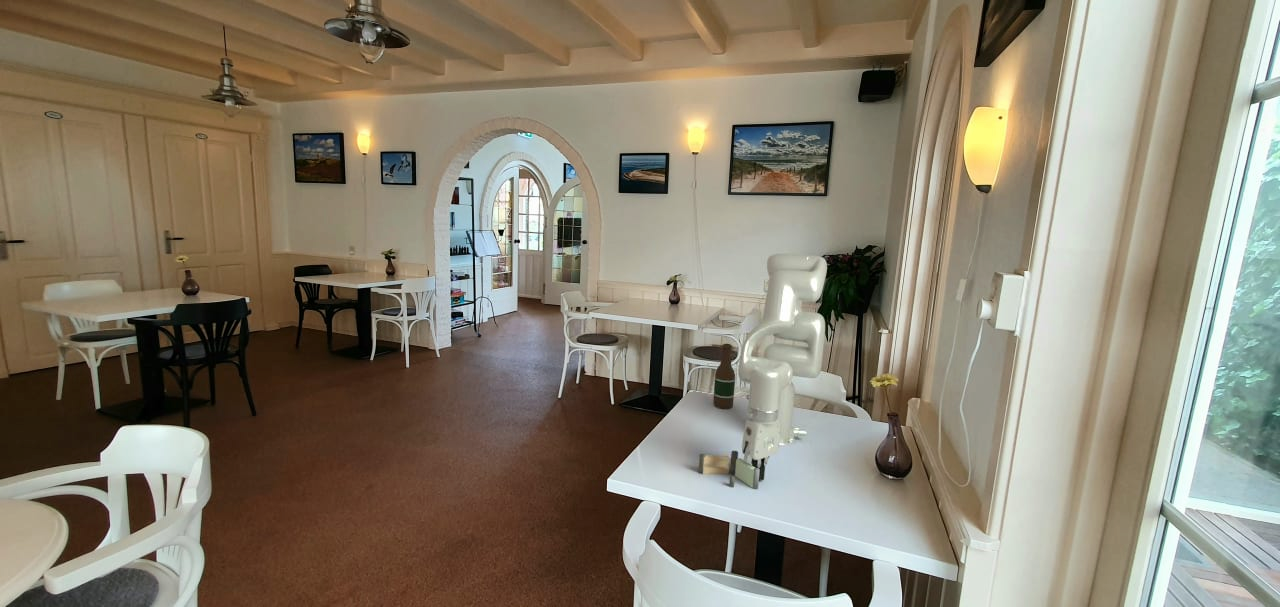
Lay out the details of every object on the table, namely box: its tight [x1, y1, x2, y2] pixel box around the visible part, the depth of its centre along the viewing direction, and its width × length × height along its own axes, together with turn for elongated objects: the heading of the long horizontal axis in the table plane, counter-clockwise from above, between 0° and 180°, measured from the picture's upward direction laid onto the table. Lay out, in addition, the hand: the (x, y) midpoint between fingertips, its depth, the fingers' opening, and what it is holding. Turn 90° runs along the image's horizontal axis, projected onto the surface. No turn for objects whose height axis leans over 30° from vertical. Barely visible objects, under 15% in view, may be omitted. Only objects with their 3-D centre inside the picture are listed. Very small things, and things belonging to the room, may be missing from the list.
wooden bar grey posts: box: [698, 450, 739, 488], centre depth 135 cm, size 10×9×6 cm
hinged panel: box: [734, 458, 760, 490], centre depth 134 cm, size 8×2×5 cm, turn 29°
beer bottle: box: [712, 343, 736, 410], centre depth 192 cm, size 8×8×24 cm
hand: (757, 478), depth 136 cm, fingers closed
